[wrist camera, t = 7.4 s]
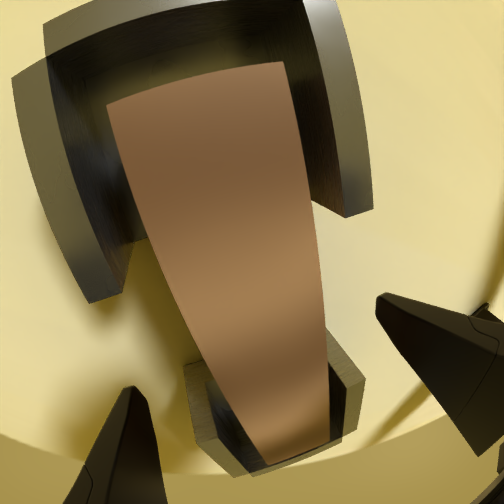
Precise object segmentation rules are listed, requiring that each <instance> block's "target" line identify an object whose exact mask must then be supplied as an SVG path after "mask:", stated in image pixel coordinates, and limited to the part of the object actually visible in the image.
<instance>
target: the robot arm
mask: <svg viewBox="0 0 504 504" xmlns="http://www.w3.org/2000/svg"><path fill="white" fill-rule="evenodd" d="M488 308H489V303H487V302H486V303H485V304H484V305H483V306H482V307H481V308H480V309H479V310H477V311H476V312H475V313H474V314H473V315H472V316H469V315H468V316H467V315H465V314H461V313H458V312H454V311H451V310H447V309H444V308H440V307H437V306H433V305H430V304H426V303H423V302H419V301H416V300H412V299H409V298H405V297H402V296H398V295H395V294H391V293H387V292H386V293H383V294H381V295H379V296H378V297H377V298H376V310H375V314H376V318H377V320H378V321H379V323H380V324H381V326H382V327H383V329H384V330H385V332H386V333H387V335H388V336H389V338H390V340H391V341H392V343H393V344H394V346H395V347H396V348H397V350H398V351H399V352H400V354H401V355H402V356H403V357H404V359H405V360H406V361H407V362H408V364H409V365H410V366H411V367H412V369H413V370H414V371H415V372H416V374H417V375H418V376H419V378H420V379H421V380H422V381H423V383H424V384H425V385H426V387H427V388H428V389H429V390H430V392H431V393H432V394H433V396H434V397H435V398H436V400H437V401H438V402H439V404H440V405H441V406H442V408H443V409H444V410H445V412H446V413H447V414H448V416H449V417H450V418H451V420H452V421H453V423H454V424H455V425H456V427H457V428H458V430H459V431H460V433H461V434H462V435H463V437H464V438H465V440H466V441H467V443H468V444H469V445H470V447H471V448H472V450H473V451H474V453H475V454H476V455H477V456H478V457H479V456H480V455H482V454H483V453H484V452H485V451H486V450H487V449H489V448H490V447H491V446H492V445H493V444H494V443H495V442H496V441H498V440H499V439H500V438H501V437H502V436H503V435H504V323H503V322H502V321H501V320H500V319H498V318H497V317H496V316H494V315H493V314H492V313H490V312H489V311H488ZM497 472H498V473H499V476H498V477H497V478H496V479H495V480H494V481H493V482H492V483H491V484H490V485H489V486H488V487H487V488H486V489H485V490H484V491H483V492H482V493H481V494H480V495H479V496H478V497H477V498H476V499H475V500H474V501H473V502H472V503H470V504H504V442H503V443H502V444H501V445H500V449H499V459H498V467H497ZM63 504H168V502H167V498H166V493H165V488H164V483H163V478H162V472H161V466H160V460H159V453H158V446H157V440H156V436H155V432H154V428H153V423H152V419H151V415H150V410H149V406H148V402H147V400H146V398H145V397H144V396H143V395H142V393H141V392H140V391H139V390H138V389H137V387H136V386H128V387H125V388H123V390H122V391H121V393H120V395H119V397H118V399H117V401H116V403H115V404H114V406H113V408H112V410H111V412H110V414H109V416H108V418H107V420H106V421H105V423H104V425H103V427H102V429H101V431H100V433H99V435H98V437H97V439H96V441H95V443H94V445H93V447H92V449H91V451H90V453H89V455H88V457H87V459H86V461H85V465H83V467H82V470H81V472H80V474H79V476H78V477H77V479H76V481H75V483H74V485H73V487H72V488H71V491H70V492H69V494H68V496H67V497H66V499H65V501H64V502H63Z"/></svg>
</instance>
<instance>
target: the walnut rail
mask: <svg viewBox="0 0 504 504" xmlns="http://www.w3.org/2000/svg"><path fill="white" fill-rule="evenodd" d="M106 107H107V111H108V115H109V118H110V122H111V126H112V130H113V133H114V137H115V140H116V144H117V147H118V150H119V154H120V157H121V160H122V164H123V167H124V170H125V173H126V176H127V179H128V182H129V185H130V188H131V191H132V194H133V197H134V200H135V202H136V205H137V208H138V211H139V214H140V216H141V219H142V222H143V224H144V227H145V230H146V232H147V235H148V237H149V240H150V242H151V245H152V247H153V250H154V252H155V255H156V257H157V260H158V262H159V265H160V267H161V269H162V272H163V274H164V276H165V279H166V281H167V283H168V285H169V288H170V290H171V292H172V294H173V297H174V299H175V301H176V303H177V305H178V308H179V310H180V312H181V314H182V316H183V318H184V320H185V322H186V324H187V326H188V328H189V331H190V333H191V335H192V337H193V339H194V341H195V343H196V345H197V346H198V348H199V350H200V352H201V354H202V356H203V358H204V360H205V362H206V364H207V366H208V368H209V369H210V371H211V373H212V375H213V377H214V379H215V380H216V382H217V384H218V386H219V388H220V389H221V391H222V393H223V395H224V396H225V398H226V400H227V402H228V403H229V405H230V407H231V408H232V410H233V412H234V413H235V415H236V417H237V418H238V420H239V422H240V423H241V425H242V427H243V428H244V430H245V431H246V433H247V435H248V436H249V438H250V439H251V441H252V442H253V444H254V445H255V447H256V449H257V450H258V452H259V453H260V455H261V456H262V458H263V459H264V461H265V462H266V463H267V465H271V464H274V463H277V462H280V461H282V460H285V459H288V458H291V457H293V456H296V455H298V454H301V453H303V452H306V451H308V450H310V449H313V448H315V447H317V446H320V445H322V444H324V443H326V442H328V441H330V417H329V379H328V358H327V341H326V327H325V314H324V303H323V292H322V282H321V273H320V264H319V255H318V247H317V239H316V231H315V224H314V217H313V210H312V203H311V197H310V191H309V184H308V178H307V173H306V167H305V161H304V156H303V150H302V145H301V140H300V135H299V130H298V125H297V120H296V115H295V110H294V106H293V101H292V97H291V92H290V88H289V84H288V80H287V75H286V71H285V67H284V63H283V61H282V62H272V63H264V64H257V65H250V66H243V67H237V68H232V69H226V70H221V71H216V72H211V73H207V74H202V75H198V76H194V77H190V78H186V79H182V80H179V81H175V82H171V83H168V84H165V85H161V86H158V87H155V88H152V89H149V90H145V91H143V92H140V93H137V94H134V95H131V96H128V97H126V98H123V99H120V100H118V101H115V102H113V103H110V104H108V105H106Z"/></svg>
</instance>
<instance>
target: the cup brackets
mask: <svg viewBox="0 0 504 504" xmlns="http://www.w3.org/2000/svg"><path fill="white" fill-rule="evenodd" d="M43 34H44V45H45V55H46V57H45V58H43V59H41V60H39V61H38V62H36V63H34V64H33V65H31V66H29V67H28V68H26V69H25V70H23V71H21V72H20V73H18V74H17V75H15V76H14V77H12V78H11V79H12V88H13V95H14V101H15V107H16V113H17V118H18V123H19V128H20V132H21V137H22V141H23V145H24V149H25V153H26V156H27V160H28V163H29V167H30V170H31V173H32V177H33V180H34V183H35V186H36V189H37V192H38V195H39V197H40V200H41V203H42V206H43V208H44V211H45V213H46V216H47V219H48V221H49V223H50V226H51V228H52V231H53V233H54V235H55V238H56V240H57V242H58V244H59V247H60V249H61V251H62V253H63V255H64V257H65V259H66V261H67V263H68V266H69V268H70V270H71V271H72V273H73V275H74V277H75V279H76V281H77V283H78V285H79V287H80V289H81V290H82V292H83V294H84V296H85V298H86V299H87V301H88V303H89V304H90V303H93V302H96V301H99V300H102V299H105V298H108V297H111V296H114V295H117V294H120V293H122V291H123V286H124V282H125V277H126V273H127V269H128V265H129V261H130V257H131V254H132V250H133V246H134V243H135V241H138V240H141V239H144V238H147V237H148V235H147V232H146V230H145V227H144V224H143V222H142V219H141V216H140V214H139V211H138V208H137V205H136V202H135V200H134V197H133V194H132V191H131V188H130V185H129V182H128V179H127V176H126V173H125V170H124V167H123V164H122V160H121V157H120V154H119V150H118V147H117V144H116V140H115V137H114V133H113V130H112V126H111V122H110V118H109V115H108V111H107V107H106V105H108V104H110V103H113V102H115V101H118V100H120V99H123V98H126V97H128V96H131V95H134V94H137V93H140V92H143V91H145V90H149V89H152V88H155V87H158V86H161V85H165V84H168V83H171V82H175V81H179V80H182V79H186V78H190V77H194V76H198V75H202V74H207V73H211V72H216V71H221V70H226V69H232V68H237V67H243V66H250V65H257V64H264V63H272V62H282V61H283V63H284V67H285V71H286V75H287V80H288V84H289V88H290V92H291V97H292V101H293V106H294V110H295V115H296V120H297V125H298V130H299V135H300V140H301V145H302V150H303V156H304V161H305V167H306V173H307V178H308V184H309V191H310V197H311V200H312V201H314V202H316V203H318V204H320V205H322V206H324V207H325V208H327V209H329V210H331V211H333V212H335V213H337V214H338V215H340V216H342V217H344V218H348V217H351V216H354V215H357V214H360V213H363V212H366V211H369V210H372V209H373V192H372V179H371V168H370V158H369V149H368V141H367V134H366V126H365V120H364V114H363V108H362V102H361V96H360V91H359V86H358V81H357V76H356V72H355V67H354V63H353V59H352V54H351V50H350V47H349V43H348V39H347V35H346V32H345V28H344V25H343V21H342V18H341V15H340V12H339V9H338V6H337V3H336V0H93V1H91V2H88V3H86V4H83V5H81V6H79V7H77V8H74V9H72V10H70V11H68V12H66V13H64V14H62V15H60V16H58V17H56V18H54V19H52V20H50V21H48V22H46V23H45V24H43ZM326 341H327V358H328V379H329V417H330V441H328V442H326V443H324V444H322V445H320V446H317V447H315V448H313V449H310V450H308V451H306V452H303V453H301V454H298V455H296V456H293V457H291V458H288V459H285V460H282V461H280V462H277V463H274V464H271V465H267V463H266V462H265V461H264V459H263V458H262V456H261V455H260V453H259V452H258V450H257V449H256V447H255V445H254V444H253V442H252V441H251V439H250V438H249V436H248V435H247V433H246V431H245V430H244V428H243V427H242V425H241V423H240V422H239V420H238V418H237V417H236V415H235V413H234V412H233V410H232V408H231V407H230V405H229V403H228V402H227V400H226V398H225V396H224V395H223V393H222V391H221V389H220V388H219V386H218V384H217V382H216V380H215V379H214V377H213V375H212V373H211V371H210V369H209V368H208V366H207V364H206V362H205V360H202V361H199V362H196V363H193V364H189V365H186V366H183V369H184V376H185V383H186V389H187V395H188V401H189V407H190V413H191V418H192V423H193V429H194V434H195V439H196V443H197V445H198V446H199V447H200V448H201V449H202V450H203V451H205V452H206V453H207V454H208V455H209V456H210V457H211V458H212V459H213V460H214V461H215V462H216V463H217V464H218V465H220V466H221V467H222V468H223V469H224V470H225V471H226V472H228V473H229V474H230V475H231V476H232V477H234V478H235V477H238V476H242V475H245V474H249V473H250V474H251V476H252V477H255V476H258V475H261V474H265V473H268V472H271V471H274V470H276V469H279V468H282V467H285V466H288V465H290V464H293V463H296V462H298V461H301V460H303V459H306V458H308V457H311V456H313V455H315V454H318V453H320V452H322V451H324V450H326V449H329V448H331V447H333V446H335V445H337V444H339V443H341V442H342V437H343V436H345V435H347V434H349V433H351V432H353V431H355V430H357V425H358V420H359V415H360V410H361V404H362V399H363V393H364V386H365V380H366V378H365V377H364V376H363V374H362V373H361V372H360V370H359V369H358V368H357V367H356V365H355V364H354V363H353V361H352V360H351V359H350V358H349V356H348V355H347V354H346V352H345V351H344V350H343V349H342V347H341V346H340V345H339V344H338V342H337V341H336V340H335V338H334V337H333V336H332V335H331V333H330V332H329V331H328V330H327V328H326Z"/></svg>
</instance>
